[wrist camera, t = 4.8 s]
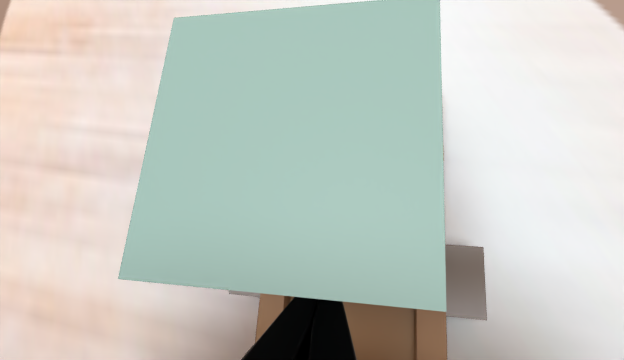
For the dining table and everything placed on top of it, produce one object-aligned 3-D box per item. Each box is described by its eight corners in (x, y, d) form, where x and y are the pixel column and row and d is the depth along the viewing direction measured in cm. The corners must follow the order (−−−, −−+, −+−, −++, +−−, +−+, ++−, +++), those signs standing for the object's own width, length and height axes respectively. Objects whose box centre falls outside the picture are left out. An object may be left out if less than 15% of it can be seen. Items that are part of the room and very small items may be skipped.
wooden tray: (480, 528, 14) (501, 582, 12) (226, 471, 17) (198, 506, 14) (463, 99, 19) (475, 73, 17) (270, 103, 22) (255, 81, 19)
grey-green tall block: (396, 282, 16) (447, 312, 4) (307, 274, 17) (117, 279, 5) (398, 193, 17) (439, -6, 5) (314, 190, 18) (174, 17, 6)
